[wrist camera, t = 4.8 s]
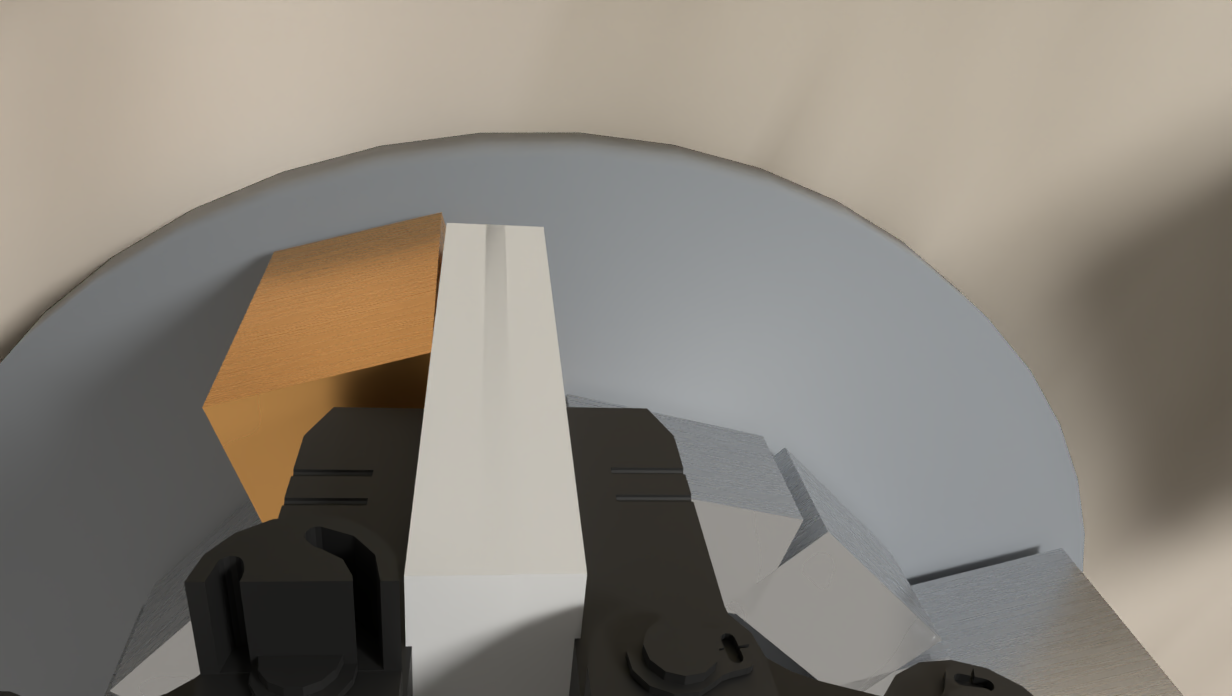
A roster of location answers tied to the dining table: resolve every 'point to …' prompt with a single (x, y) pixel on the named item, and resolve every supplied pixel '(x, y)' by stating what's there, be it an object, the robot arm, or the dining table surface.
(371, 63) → the dining table surface
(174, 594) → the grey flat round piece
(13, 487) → the flange
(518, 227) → the robot arm
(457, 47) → the dining table surface
